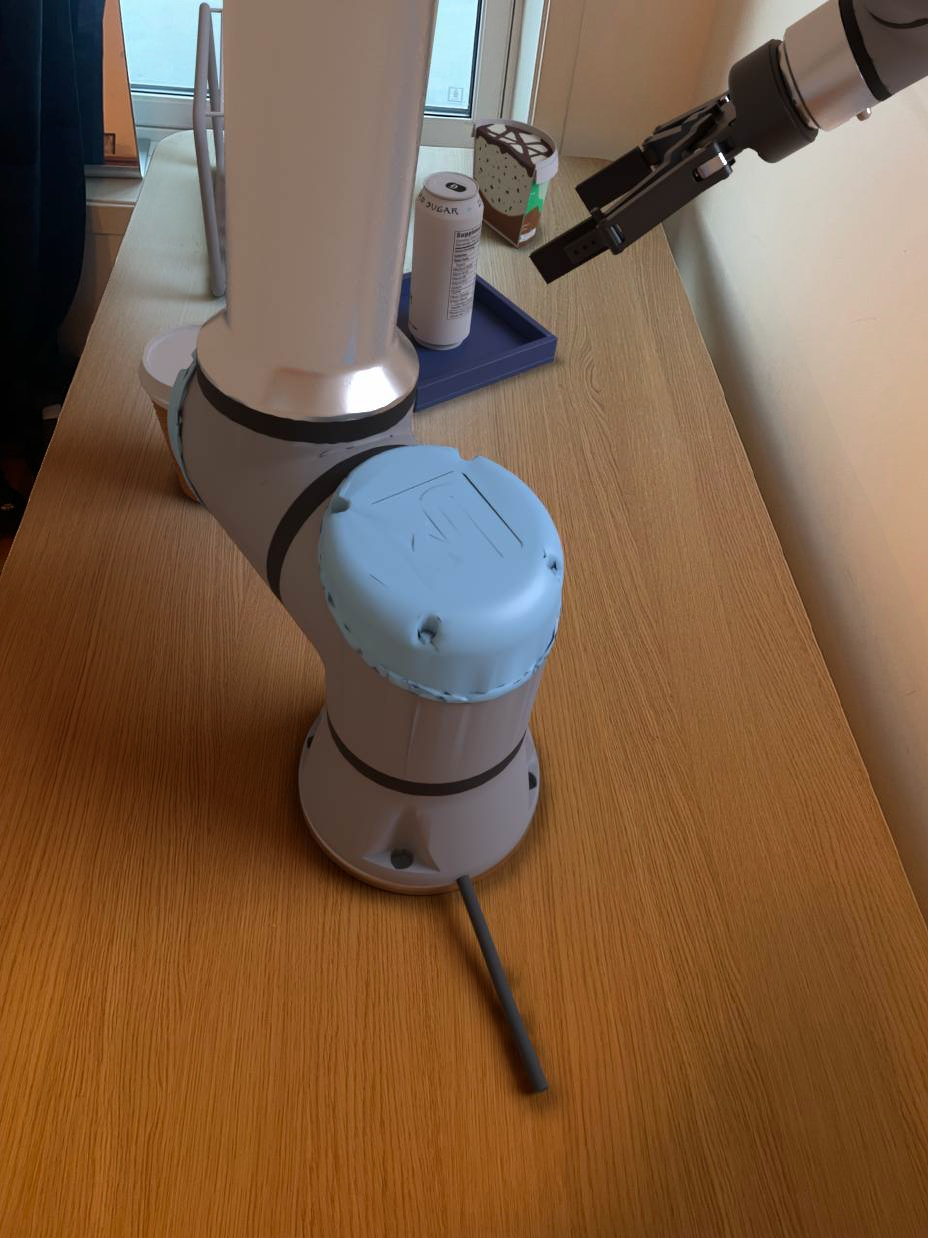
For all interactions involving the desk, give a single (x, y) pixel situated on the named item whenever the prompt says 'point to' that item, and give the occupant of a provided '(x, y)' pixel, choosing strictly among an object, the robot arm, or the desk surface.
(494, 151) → the food container
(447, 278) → the energy drink can
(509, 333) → the navy tray
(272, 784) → the desk surface
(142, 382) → the disposable coffee cup
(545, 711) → the desk surface
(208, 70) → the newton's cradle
